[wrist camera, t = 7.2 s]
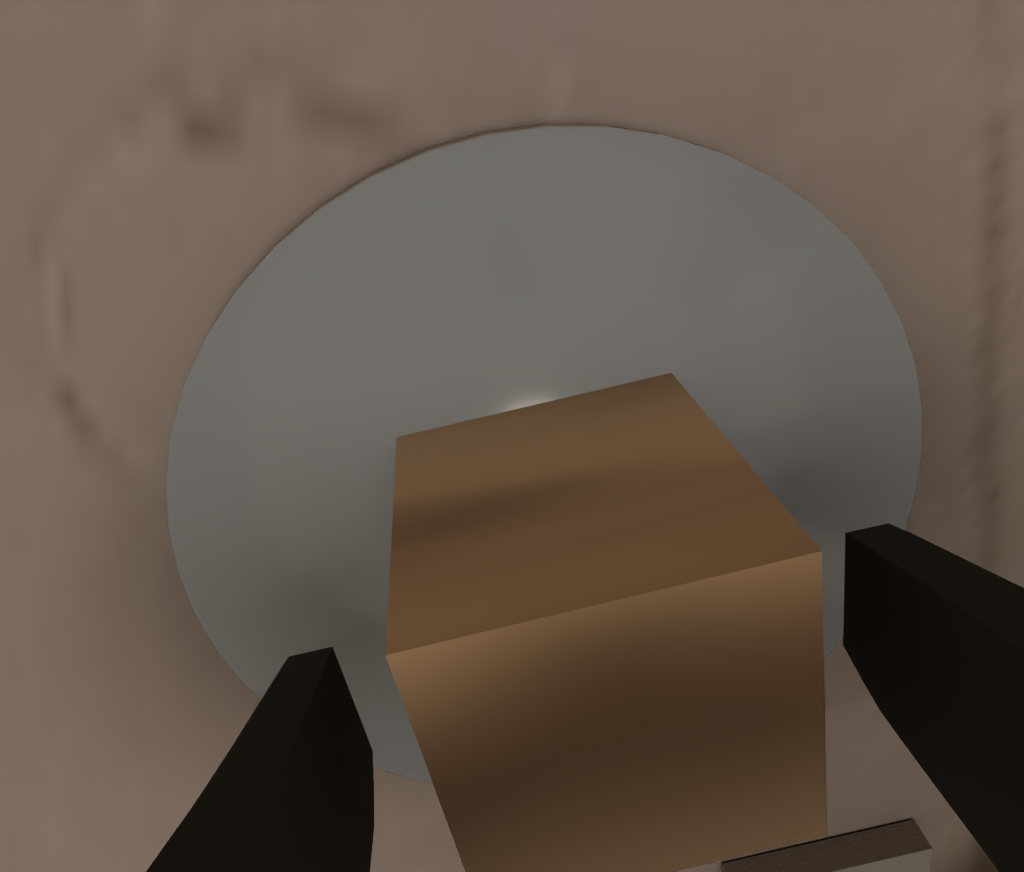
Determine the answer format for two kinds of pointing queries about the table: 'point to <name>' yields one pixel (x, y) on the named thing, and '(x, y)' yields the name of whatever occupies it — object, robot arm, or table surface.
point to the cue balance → (849, 853)
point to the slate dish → (517, 370)
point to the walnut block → (606, 637)
